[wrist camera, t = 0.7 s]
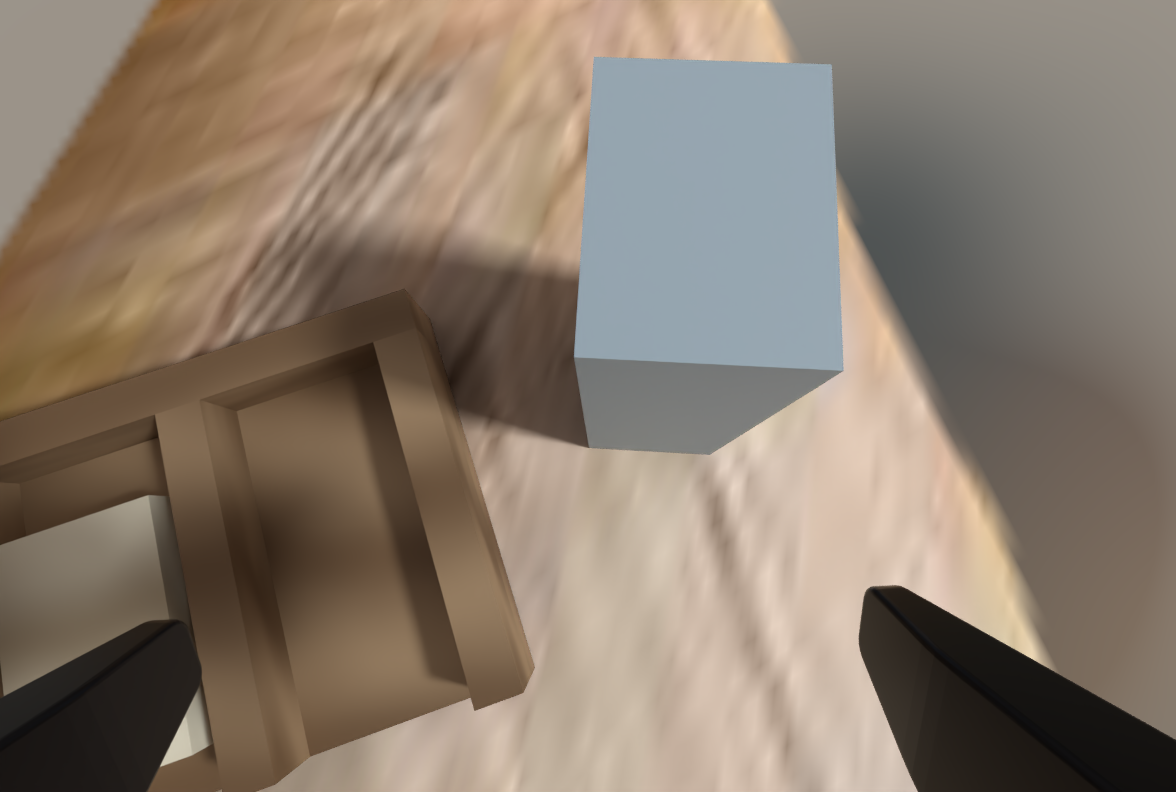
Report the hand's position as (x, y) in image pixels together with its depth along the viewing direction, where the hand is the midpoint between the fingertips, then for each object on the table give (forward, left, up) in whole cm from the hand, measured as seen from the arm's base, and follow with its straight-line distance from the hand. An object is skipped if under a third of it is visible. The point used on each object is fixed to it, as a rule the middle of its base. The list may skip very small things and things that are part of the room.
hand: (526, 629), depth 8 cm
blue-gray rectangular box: (+6, -5, -13) cm, 15 cm away
